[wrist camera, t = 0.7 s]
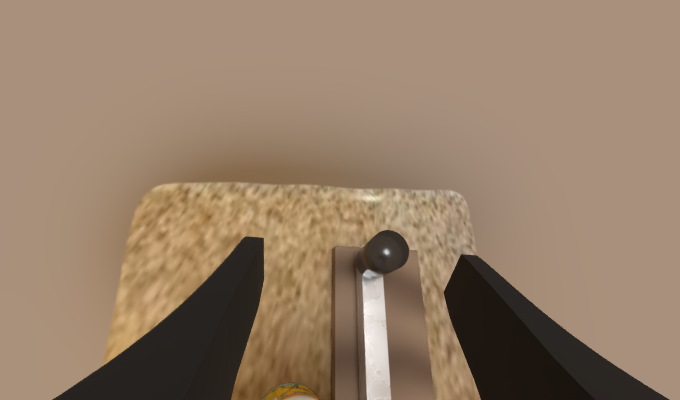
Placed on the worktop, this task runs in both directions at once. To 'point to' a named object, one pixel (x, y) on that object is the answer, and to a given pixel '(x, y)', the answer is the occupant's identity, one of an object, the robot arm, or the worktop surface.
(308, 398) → the supplement bottle
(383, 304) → the lever
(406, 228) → the worktop surface
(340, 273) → the base board
